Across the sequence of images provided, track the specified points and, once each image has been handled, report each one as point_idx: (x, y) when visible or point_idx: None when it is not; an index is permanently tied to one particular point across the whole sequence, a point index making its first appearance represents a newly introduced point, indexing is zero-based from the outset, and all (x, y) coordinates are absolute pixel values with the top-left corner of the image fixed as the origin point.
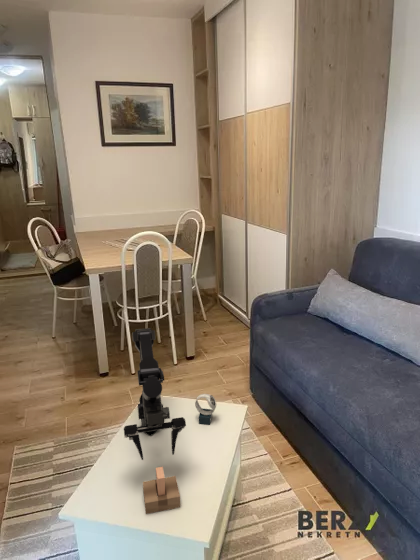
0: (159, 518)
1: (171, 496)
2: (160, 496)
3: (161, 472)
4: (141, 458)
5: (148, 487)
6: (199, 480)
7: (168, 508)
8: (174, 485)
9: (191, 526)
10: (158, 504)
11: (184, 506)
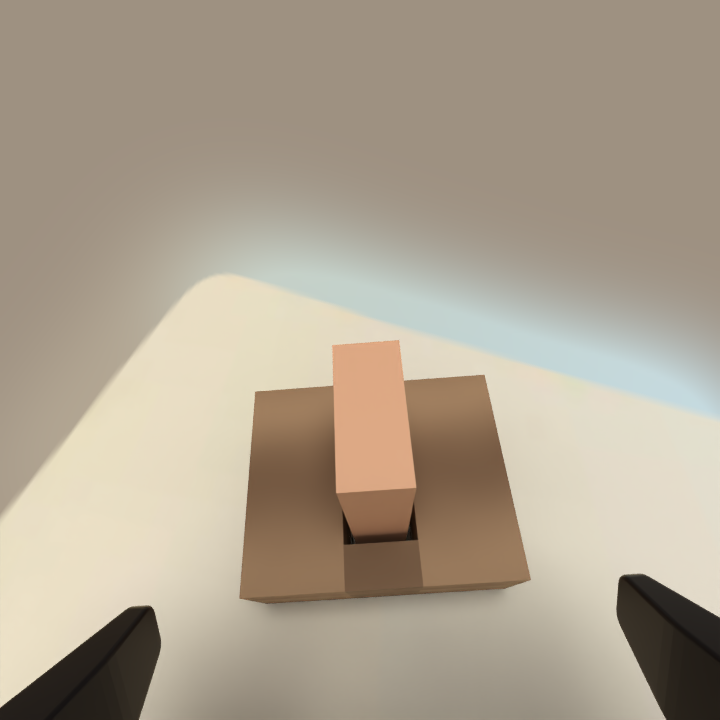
0: None
1: (309, 398)
2: None
3: (357, 412)
4: (658, 584)
5: (473, 504)
6: (86, 629)
7: None
8: (271, 490)
9: (248, 320)
10: None
11: (251, 428)
